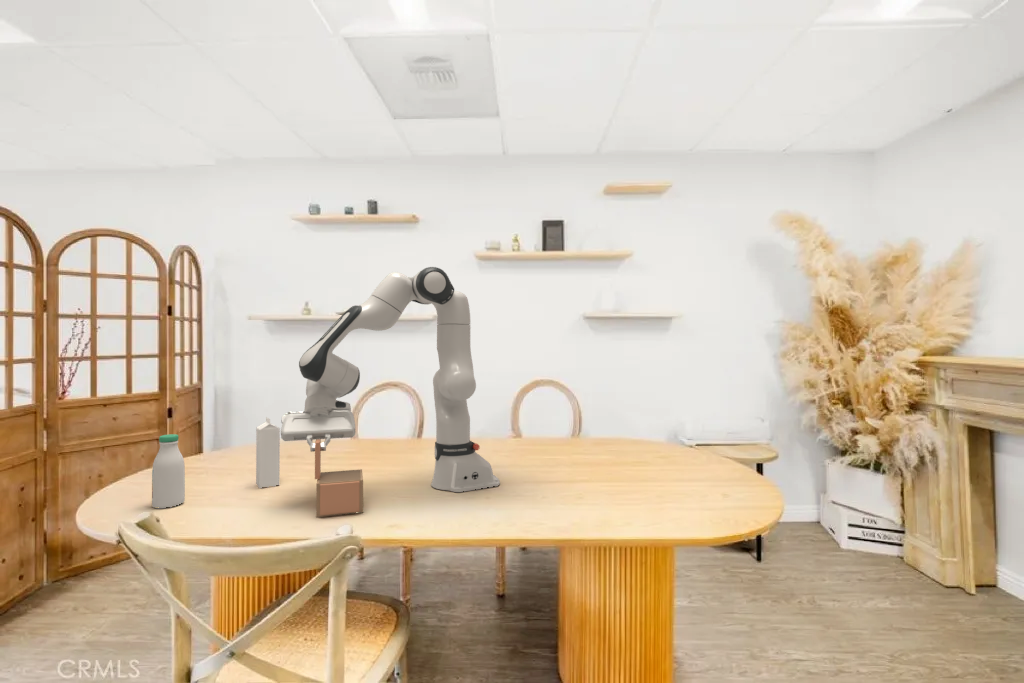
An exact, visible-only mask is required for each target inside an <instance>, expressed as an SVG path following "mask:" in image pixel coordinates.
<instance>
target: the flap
mask: <svg viewBox="0 0 1024 683" xmlns="http://www.w3.org/2000/svg"><path fill="white" fill-rule="evenodd" d="M314 443H315V451H314V480H317V479H320V475H321V468H322V467H321V466H322V465H321V464H322V463H321V456H322V455H321V453H322V451H320V446H321V445H320V444H321V443H322V439H316V440H315V442H314Z"/></svg>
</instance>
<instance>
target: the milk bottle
mask: <svg viewBox="0 0 1024 683" xmlns="http://www.w3.org/2000/svg"><path fill="white" fill-rule="evenodd" d="M179 437H180V436H179V434H175V433H173V434H171V433H170V434H163V435H160V436H159V437H158V442H159V450H158V451H157V454H156V456H155V457H154V460H153V463H152V470H151V471H152V473H151V474H152V477H151V478H152V479H151V506H152V508H154V507H159V508H158V509H167V508H166V507H170V508H173V507H172V506H175V507H177V506H176V505H178V506H180V505H179V504H181V503H183V502H184V503H185V501H186V500H185V499H186V497H185V496H186V495H185V494H186V488H185V486H186V483H185V482H186V480H185V478H186V473H185V471H186V470H185V459H184V457H183V455H182V453H181V451H180V449H179V446H178V443H179ZM184 503H183V504H184ZM181 505H182V504H181Z"/></svg>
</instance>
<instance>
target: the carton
mask: <svg viewBox="0 0 1024 683" xmlns="http://www.w3.org/2000/svg"><path fill="white" fill-rule="evenodd" d="M363 476H364V475H363V469H361V468H360V469H347V470H335V471H322V472H321V475H320V479H316V486H315V490H316V491H315V492H316V496H315V497H316V498H315V500H316V501H315V506H316V508H315V510H316V513H315V514H316V516H315V517H316V518H324V517H325V518H326V517H332V516H333V517H334V516H335V517H336V516H343V515H342V514H345V515H349V514H348V513H355V514H357V513H356V512H363V513H364V477H363Z"/></svg>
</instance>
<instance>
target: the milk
mask: <svg viewBox="0 0 1024 683" xmlns="http://www.w3.org/2000/svg"><path fill="white" fill-rule="evenodd" d="M255 430H256V431H255V433H256V436H255V438H256V439H255V440H256V442H255V444H256V446H255V447H256V449H255V451H256V452H255V454H256V455H255V457H256V458H255V460H256V461H255V462H256V463H255V470H256V471H255V477H256V479H255V485H256V484H257V485H258V486H257V485H256V486H257V488H259V489H260V488H261V489H263V488H262V487H267V488H270V487H269V486H273V487H277V486H276V485H279V486H280V479H281V478H280V476H281V475H280V470H281V468H280V467H281V466H280V462H281V461H280V458H281V457H280V456H281V455H280V450H281V449H280V448H281V445H280V444H281V443H280V442H281V441H280V438H281V428H280V427H279V426H277V425H275V424H273V423H271V419H270V418H269V417H267V416H266V417H265V422H263V423H261V424H259V425H258V426H256V429H255Z"/></svg>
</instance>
